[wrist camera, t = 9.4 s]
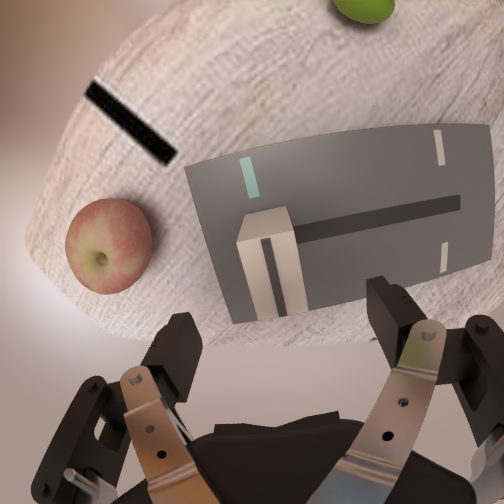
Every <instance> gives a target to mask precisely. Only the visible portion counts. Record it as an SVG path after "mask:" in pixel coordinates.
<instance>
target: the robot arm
mask: <svg viewBox="0 0 504 504" xmlns="http://www.w3.org/2000/svg"><path fill="white" fill-rule="evenodd" d="M366 299H367V314H368V319H369V322H370V324H371V326H372V328H373V330H374V332H375V334H376V336H377V339H378V341H379V343H380V345H381V347H382V349H383V352H384V354H385V356H386V358H387V361H388V363H389V365H390V368H391V372H390V375H389V377H388V379H387V381H386V383H385V385H384V387H383V389H382V391H381V393H380V396H379V397H378V399H377V402H376V403H375V405H374V407H373V409H372V411H371V413H370V414H369V416H368V418H367V420H366V422H365V423H364V422H361V421H356V420H350V419H340V418H339V412H338V411H335V412H330V413H325V414H319V415H314V416H308V417H305V418H302V419H299V420H296V421H293V422H291V423H288V424H284V425H282V426H278V427H265V426H258V425H251V424H244V423H241V424H215V427H214V433H210V434H207V435H204V436H202V437H199V438H197V439H195V440H194V438H193V437H192V435H191V434H190V432H189V430H188V429H187V427H186V425H185V424H184V422H183V420H182V418H181V417H180V415H179V413H178V412H177V410H176V409H175V404H176V402H181V403H183V402H185V403H186V402H187V398H188V395H189V391H190V388H191V385H192V381H193V378H194V375H195V372H196V368H197V365H198V362H199V359H200V356H201V352H202V348H203V345H202V339H201V336H200V334H199V332H198V330H197V327H196V325H195V323H194V320H193V318H192V316H191V314H190V313H189V312H184V313H177V314H173V315H172V316H171V318H170V320H169V322H168V324H167V325H165V326H164V327H163V328H162V329H161V330H160V331H158V333H157V334H156V336H155V338H154V341H153V342H152V344H151V347H149V349H148V352H147V353H146V355H145V357H144V359H143V361H142V363H141V365H140V366H135V367H133V368H130V369H129V370H128V371H126V372H125V373H124V374H123V375H122V377H121V379H120V381H118V382H114V383H109V384H107V382H106V381H105V380H104V378H103V377H101V376H93V377H90V378H89V379H87V380H86V381H85V382H84V383H83V384H82V385H81V387H80V389H79V391H78V392H77V394H76V396H75V397H74V399H73V401H72V403H71V404H70V406H69V408H68V410H67V412H66V414H65V416H64V417H63V419H62V421H61V423H60V425H59V427H58V429H57V431H56V433H55V435H54V437H53V439H52V441H51V443H50V445H49V447H48V449H47V451H46V453H45V455H44V457H43V460H42V462H41V464H40V466H39V468H38V471H37V473H36V475H35V478H34V480H33V482H32V485H31V494H32V497H33V499H34V500H35V501H36V502H37V503H39V504H493V503H495V502H496V501H498V500H501V499H504V332H503V331H502V329H501V328H500V327H499V326H498V325H497V323H496V322H495V321H494V320H493V319H492V318H490V317H489V316H486V315H474V316H472V317H470V318H469V319H468V320H467V322H466V325H465V328H459V329H446V328H445V326H444V325H443V324H442V323H440V322H438V321H436V320H431V319H428V318H427V317H426V316H425V314H424V313H423V312H422V310H421V309H420V308H419V306H418V305H417V304H416V302H414V300H413V299H412V297H411V296H410V295H409V294H408V292H407V291H406V290H405V289H404V288H403V287H401V286H399V285H397V284H392V285H390V284H389V283H388V281H387V280H386V279H385V277H384V276H383V275H381V276H377V277H373V278H369V279H367V280H366ZM451 383H452V385H453V388H454V390H455V392H456V394H457V396H458V398H459V401H460V403H461V405H462V408H463V410H464V413H465V415H466V417H467V420H468V422H469V425H470V427H471V430H472V433H473V435H474V438H475V441H476V444H477V446H478V449H477V450H476V452H475V453H474V455H473V457H472V461H471V468H472V475H471V479H470V481H468V480H466V479H465V478H464V477H462V476H459V475H458V474H456V473H454V472H452V471H450V470H447V469H446V468H444V467H442V466H440V465H438V464H436V463H434V462H433V461H431V460H429V459H427V458H425V457H423V456H422V455H420V454H418V453H417V452H415V451H413V450H412V448H413V445H414V443H415V441H416V438H417V436H418V434H419V431H420V428H421V426H422V423H423V421H424V418H425V415H426V412H427V409H428V406H429V403H430V400H431V397H432V394H433V391H434V387H435V385H441V384H451ZM100 417H101V418H102V419H103V420H104V421H105V425H104V428H103V430H102V432H101V435H100V437H99V440H97V439H96V438H95V435H94V429H95V427H96V424H97V422H98V420H99V418H100ZM131 440H132V443H133V446H134V449H135V451H136V454H137V457H138V459H139V462H140V464H141V467H142V469H143V472H144V474H145V477H146V478H145V479H144V480H143V481H141V482H140V483H139V484H137V485H136V486H134V487H133V488H132V489H130V490H129V491H127V492H126V493H124V494H123V495H122V496H120V497H119V498H118V496H117V491H116V487H117V483H118V480H119V476H120V473H121V470H122V467H123V463H124V460H125V457H126V454H127V451H128V448H129V445H130V442H131Z"/></svg>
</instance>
